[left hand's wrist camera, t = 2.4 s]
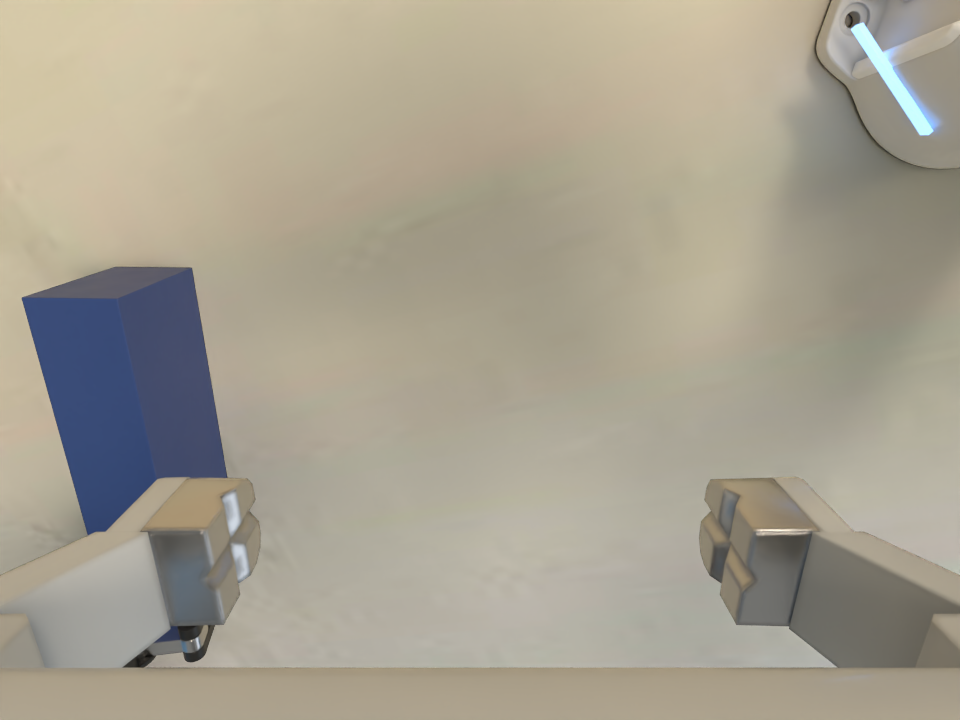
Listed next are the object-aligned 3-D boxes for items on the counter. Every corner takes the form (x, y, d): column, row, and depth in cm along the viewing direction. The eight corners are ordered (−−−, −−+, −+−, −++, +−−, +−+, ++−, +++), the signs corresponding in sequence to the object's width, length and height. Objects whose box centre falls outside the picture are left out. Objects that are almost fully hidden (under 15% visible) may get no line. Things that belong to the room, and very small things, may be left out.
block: (115, 266, 41) (20, 297, 32) (192, 267, 40) (116, 298, 32) (173, 538, 49) (110, 618, 41) (237, 540, 49) (187, 619, 40)
